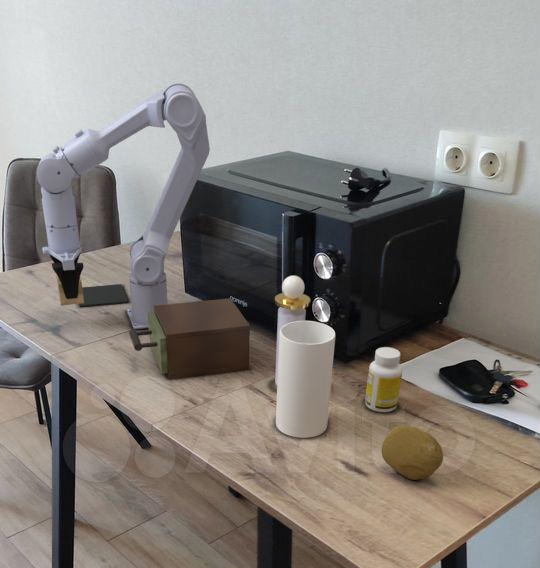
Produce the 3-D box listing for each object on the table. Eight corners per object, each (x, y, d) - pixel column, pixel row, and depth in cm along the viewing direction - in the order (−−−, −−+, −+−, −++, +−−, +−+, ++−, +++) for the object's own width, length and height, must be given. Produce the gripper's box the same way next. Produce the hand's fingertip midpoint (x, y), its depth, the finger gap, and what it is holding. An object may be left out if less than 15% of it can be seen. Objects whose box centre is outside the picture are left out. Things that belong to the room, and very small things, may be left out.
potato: (376, 461, 104) (383, 415, 100) (426, 460, 105) (435, 415, 100) (386, 490, 98) (393, 443, 94) (439, 489, 99) (449, 442, 95)
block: (59, 297, 139) (56, 275, 136) (81, 294, 140) (79, 273, 138) (60, 305, 135) (57, 283, 133) (84, 303, 137) (81, 281, 134)
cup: (300, 404, 117) (306, 316, 108) (337, 424, 112) (347, 333, 103) (264, 422, 112) (268, 330, 103) (302, 444, 107) (309, 349, 98)
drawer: (138, 376, 121) (135, 341, 118) (128, 348, 130) (125, 314, 127) (236, 364, 126) (236, 330, 122) (219, 338, 135) (219, 305, 131)
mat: (75, 289, 155) (75, 288, 155) (121, 285, 158) (121, 284, 158) (80, 307, 147) (79, 305, 147) (128, 302, 150) (127, 301, 150)
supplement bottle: (403, 405, 118) (411, 352, 113) (384, 417, 115) (392, 363, 109) (377, 393, 121) (384, 341, 116) (358, 404, 118) (364, 352, 112)
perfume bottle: (311, 389, 122) (319, 278, 111) (283, 397, 119) (289, 285, 108) (291, 375, 125) (297, 267, 114) (264, 383, 123) (268, 273, 112)
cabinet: (169, 379, 123) (167, 334, 118) (155, 348, 133) (153, 305, 128) (249, 369, 127) (250, 325, 122) (230, 339, 137) (230, 298, 132)
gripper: (36, 213, 134) (46, 281, 142) (41, 237, 123) (52, 309, 130) (74, 211, 136) (82, 278, 144) (82, 234, 125) (90, 305, 132)
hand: (70, 293), depth 137 cm, fingers closed on block, 4 cm apart
